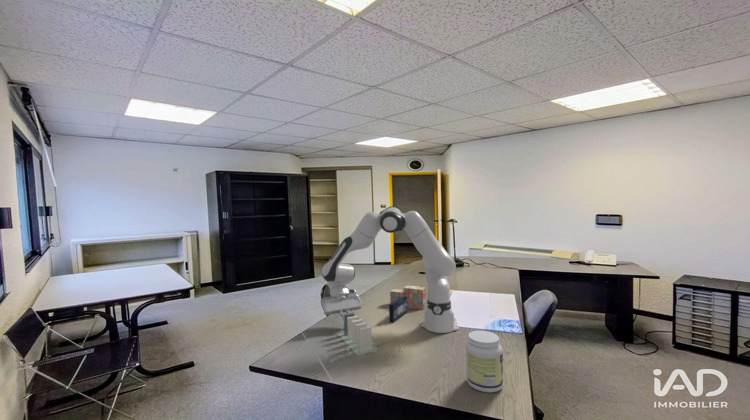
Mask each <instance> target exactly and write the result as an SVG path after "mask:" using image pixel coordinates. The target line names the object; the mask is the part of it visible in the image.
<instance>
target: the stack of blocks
mask: <svg viewBox="0 0 750 420" xmlns="http://www.w3.org/2000/svg"><path fill="white" fill-rule="evenodd" d="M389 294H390V295H389V296H390V297H389V298H390V300H389V301H390V304H391V303H393V302H394V301H396V300H397V299H399V298H401V297H402V296H407V309H416V310H425V308H426V307H427V301H426V298H427V297H426V294H427V293H426V287H425V286H418V285H417V286H416V285H405V286H404V287H403V289H398V288H397V289H396V288H392V289H391V290H390V291H389Z"/></svg>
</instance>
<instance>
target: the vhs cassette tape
mask: <svg viewBox="0 0 750 420" xmlns="http://www.w3.org/2000/svg"><path fill="white" fill-rule="evenodd" d="M388 307H389V310H388V311H389V313H388V314H389V315H388V316H389V318H388V319H389V323H390V324H391V323H393V324H394V323H396V322H397V321H399V320H400V319H401V318H403V316H405V315H406V314H408V308H407V296H402V297H401V298H399V299H397V300H396V301H394V302H393V303H391V302H390V304H389V305H388Z"/></svg>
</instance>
